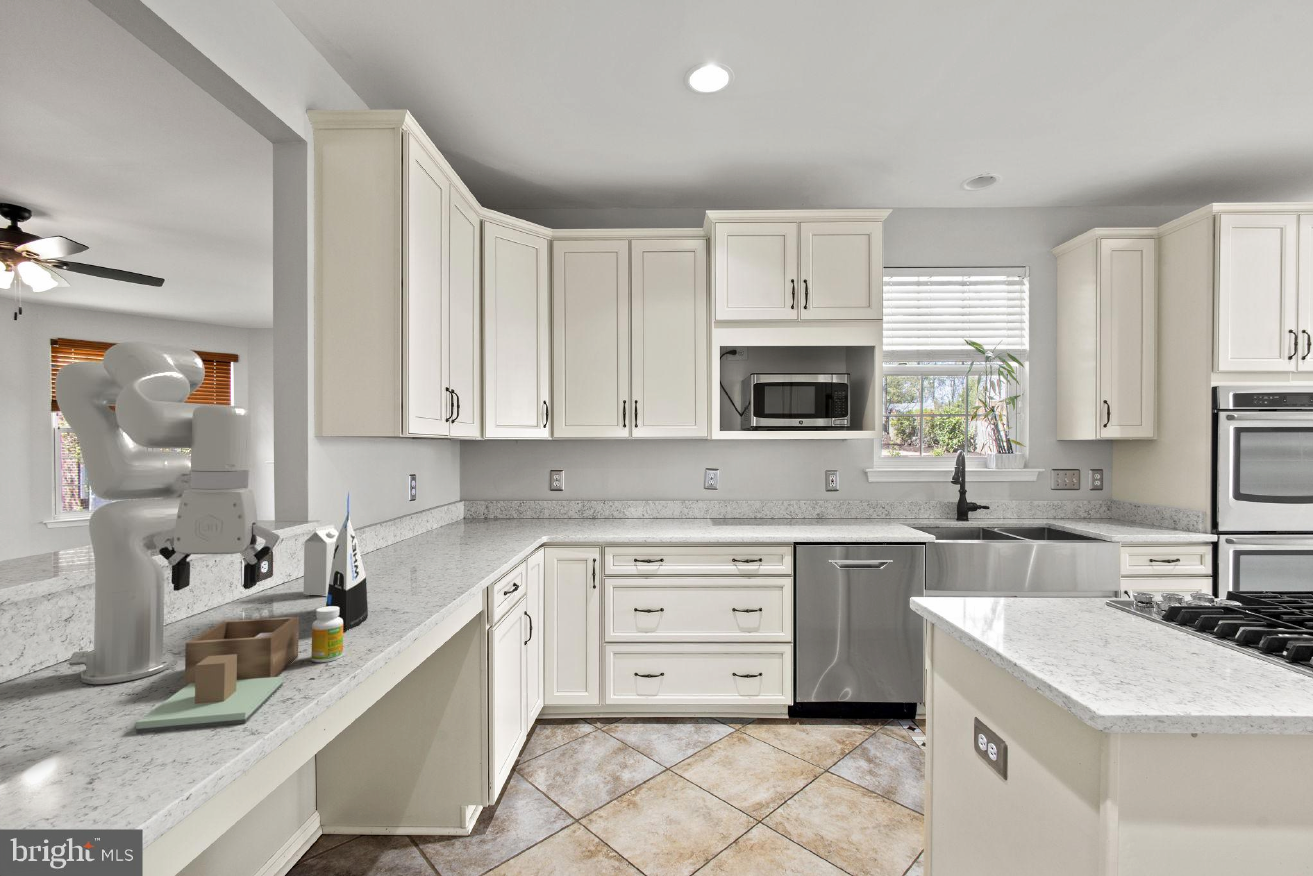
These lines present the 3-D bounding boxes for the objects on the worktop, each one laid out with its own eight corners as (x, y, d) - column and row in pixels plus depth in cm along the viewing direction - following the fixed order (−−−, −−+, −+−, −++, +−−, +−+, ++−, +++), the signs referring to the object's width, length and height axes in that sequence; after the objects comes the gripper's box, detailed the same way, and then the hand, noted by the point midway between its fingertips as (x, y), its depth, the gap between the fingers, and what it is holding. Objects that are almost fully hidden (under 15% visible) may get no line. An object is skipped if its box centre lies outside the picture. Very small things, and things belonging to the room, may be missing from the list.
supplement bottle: (328, 664, 111) (329, 613, 111) (304, 661, 112) (305, 611, 112) (348, 654, 116) (349, 605, 117) (325, 652, 117) (326, 604, 118)
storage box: (184, 690, 99) (185, 643, 99) (222, 662, 112) (223, 620, 112) (270, 683, 102) (270, 638, 102) (298, 657, 114) (298, 616, 115)
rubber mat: (136, 733, 84) (136, 729, 84) (189, 693, 98) (189, 689, 98) (245, 723, 87) (245, 719, 87) (282, 685, 101) (282, 682, 101)
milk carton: (303, 595, 161) (304, 527, 161) (321, 589, 168) (322, 524, 168) (325, 597, 160) (326, 528, 160) (343, 590, 167) (344, 525, 167)
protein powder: (367, 603, 154) (368, 490, 154) (369, 629, 132) (370, 498, 133) (326, 608, 149) (328, 491, 150) (321, 635, 128) (323, 499, 128)
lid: (136, 728, 84) (137, 680, 84) (189, 689, 98) (190, 647, 98) (245, 719, 87) (246, 672, 87) (282, 682, 101) (283, 642, 101)
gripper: (142, 482, 87) (138, 595, 87) (270, 484, 91) (266, 592, 91) (171, 479, 95) (167, 583, 95) (289, 480, 99) (285, 580, 99)
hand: (216, 587), depth 93 cm, fingers open, 9 cm apart
